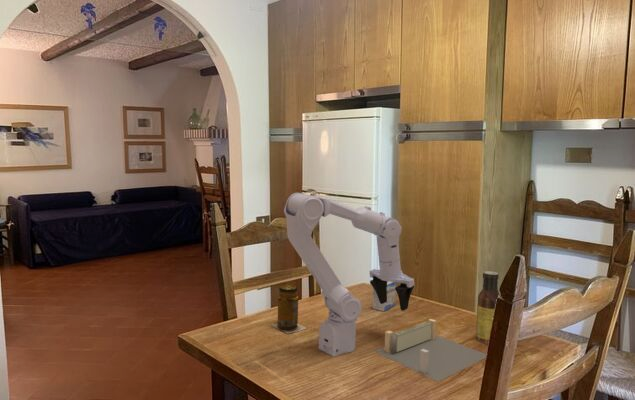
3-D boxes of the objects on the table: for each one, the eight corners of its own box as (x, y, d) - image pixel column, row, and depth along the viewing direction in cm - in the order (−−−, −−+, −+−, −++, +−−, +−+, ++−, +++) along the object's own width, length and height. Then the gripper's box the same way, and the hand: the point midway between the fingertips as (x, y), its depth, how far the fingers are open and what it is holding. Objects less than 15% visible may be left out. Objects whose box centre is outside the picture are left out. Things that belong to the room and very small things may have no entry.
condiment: (290, 320, 143) (291, 282, 141) (307, 328, 136) (308, 289, 135) (270, 325, 138) (271, 286, 137) (287, 334, 131) (287, 294, 130)
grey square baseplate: (437, 384, 105) (439, 359, 104) (373, 353, 120) (374, 331, 119) (489, 358, 119) (491, 336, 118) (426, 333, 134) (427, 313, 133)
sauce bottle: (501, 348, 125) (505, 276, 123) (477, 345, 126) (481, 275, 124) (496, 338, 131) (501, 270, 129) (473, 336, 133) (477, 269, 130)
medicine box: (383, 312, 151) (384, 286, 151) (372, 309, 154) (373, 283, 153) (395, 305, 158) (396, 281, 157) (383, 303, 160) (384, 278, 159)
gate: (393, 353, 118) (394, 336, 117) (390, 351, 119) (390, 334, 118) (430, 339, 128) (431, 322, 127) (426, 337, 129) (427, 321, 128)
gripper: (419, 259, 123) (423, 307, 125) (379, 251, 134) (384, 295, 136) (402, 267, 118) (407, 316, 121) (362, 258, 130) (367, 303, 132)
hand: (393, 305), depth 128 cm, fingers open, 7 cm apart
